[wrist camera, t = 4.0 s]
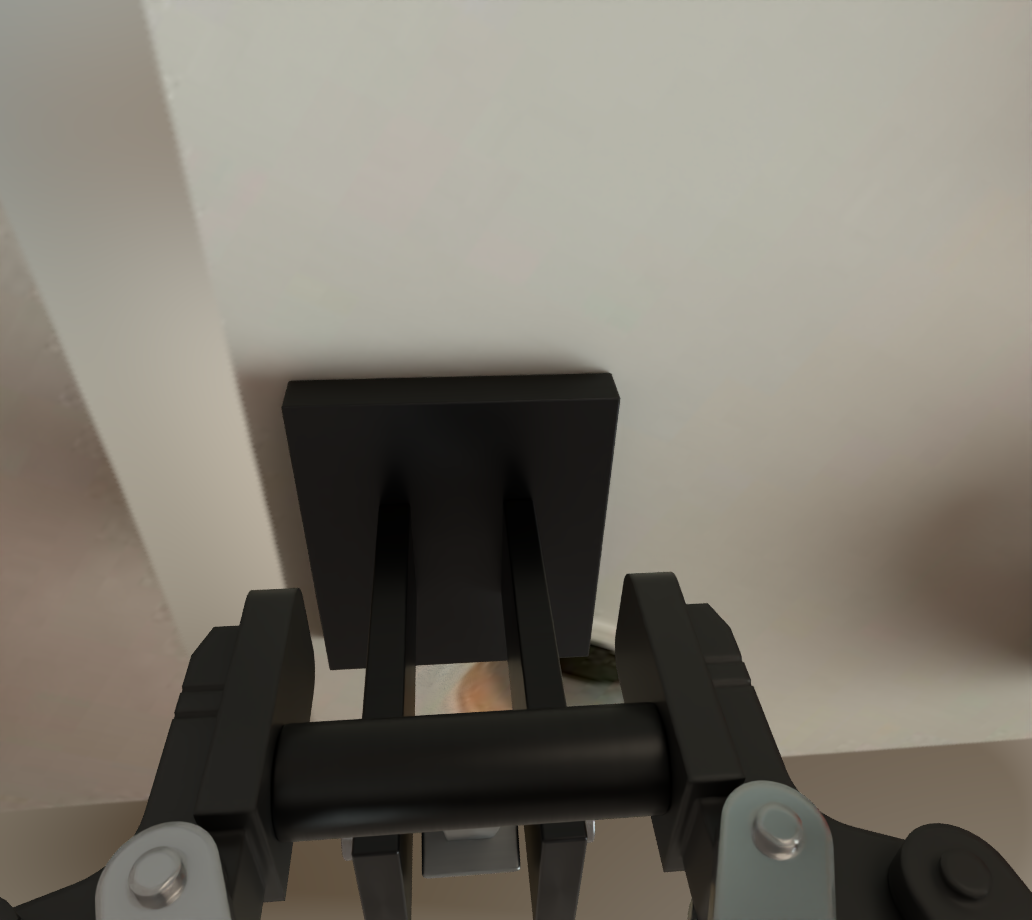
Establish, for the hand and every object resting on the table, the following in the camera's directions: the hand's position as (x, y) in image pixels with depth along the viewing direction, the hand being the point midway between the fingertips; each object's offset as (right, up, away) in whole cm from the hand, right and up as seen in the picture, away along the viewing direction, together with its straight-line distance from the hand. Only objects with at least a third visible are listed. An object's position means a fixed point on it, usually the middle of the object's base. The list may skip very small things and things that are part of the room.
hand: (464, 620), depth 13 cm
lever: (0, -3, +3) cm, 4 cm away
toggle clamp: (-1, 0, +15) cm, 15 cm away
